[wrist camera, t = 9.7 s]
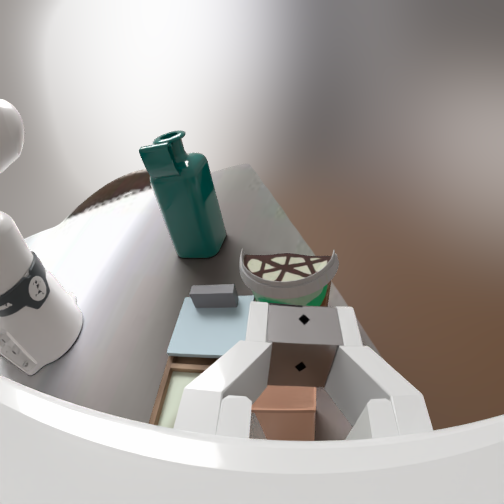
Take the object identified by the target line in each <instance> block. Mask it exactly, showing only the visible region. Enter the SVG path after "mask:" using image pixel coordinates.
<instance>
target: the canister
mask: <svg viewBox="0 0 504 504" xmlns="http://www.w3.org/2000/svg"><path fill="white" fill-rule="evenodd" d="M251 412H253V413H255V414H256V416H257V419H258V421H259V423H260V425H261V427H262V429H263V431H264V433H265V436H266V438H267V440H285V441H315V413H316V387H302V386H272V385H267V387H266V389H265V390H264V391H263V392H262V394H261V395H260V396H259V397H258V399H257V400H256V401H255V402H254V403H253V405H252V407H251Z"/></svg>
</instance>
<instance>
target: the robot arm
mask: <svg viewBox="0 0 504 504" xmlns="http://www.w3.org/2000/svg"><path fill="white" fill-rule="evenodd" d="M24 136H25V133H24V124H23V121H22V118H21V116H20V114H19V112H18V111H17V109H16V108H15V107H14V106H13V105H12V104H10V103H9V102H7V101H5V100H2V99H0V174H1V173H2V172H3V171H4V170H5V169H6V168H7V167H8V166H9V165H11V164H12V163H13V162H14V161H15V160H16V159H17V158H18V157H19V156H20V154H21V151H22V148H23V144H24ZM82 322H83V316H82V312H81V310H80V309H79V307H78V306H77V304H76V296H75V295H74V294H73V293H72V292H69V293H67V291H66V290H65V289H64V288H63V286H62V285H61V284H60V283H59V281H58V280H57V279H56V277H55V276H54V275H53V274H52V272H50V271H47V270H45V268H44V267H43V265H42V263H41V261H40V259H39V258H38V257H37V256H36V254H35V253H34V252H32V251H30V249H29V247H28V245H27V244H26V242H25V240H24V238H23V237H22V235H21V233H20V231H19V230H18V228H17V226H16V224H15V222H14V220H13V219H12V218H11V217H10V216H9V215H8V214H6V213H4V212H1V211H0V354H1V355H2V356H4V357H5V358H6V359H7V360H9V361H10V362H11V363H13V364H14V365H15V366H17V367H18V368H20V369H21V370H22V371H24V372H25V373H27V374H28V375H33V374H35V373H36V372H37V371H38V370H39V369H40V368H42V367H43V366H44V365H46V364H49V363H51V362H53V361H55V360H56V359H58V358H59V357H61V356H62V355H63V354H64V353H65V352H66V351H67V350H68V349H69V348H70V347H71V346H72V345H73V343H74V342H75V340H76V339H77V337H78V335H79V333H80V330H81V327H82ZM267 385H272V386H302V387H324V389H325V390H326V392H327V393H328V394H329V396H330V397H331V398H332V400H333V401H334V403H335V404H336V405H337V407H338V408H339V409H340V411H341V412H342V413H343V415H344V416H345V417H346V419H347V420H348V421H349V423H350V424H351V425H352V427H353V428H352V430H351V431H350V433H349V434H348V436H347V438H346V439H345V440H337V441H285V440H264V439H250V438H249V432H250V420H251V407H252V405H253V403H254V402H255V401H256V400H257V399H258V397H259V396H260V395H261V394H262V392H263V391H264V390H265V389H266V387H267ZM0 504H504V415H500V416H497V417H493V418H490V419H486V420H482V421H478V422H474V423H470V424H465V425H461V426H456V427H451V428H446V429H440V430H435V431H433V429H432V425H431V422H430V418H429V415H428V411H427V408H426V405H425V402H424V398H423V395H422V394H421V393H420V392H419V391H418V390H417V389H416V388H414V387H413V386H412V385H411V384H410V383H409V382H407V380H406V379H404V378H403V377H402V376H401V375H400V374H399V373H398V372H397V371H395V370H394V369H393V368H392V367H391V366H390V365H389V364H388V363H387V362H385V361H384V360H383V359H382V358H381V357H380V356H379V355H378V354H376V353H375V352H374V351H373V350H372V349H371V348H370V347H369V346H363V343H362V339H361V335H360V331H359V327H358V324H357V320H356V316H355V313H354V309H353V308H352V307H322V306H303V305H292V304H280V303H269V304H268V303H267V302H256V301H251V303H250V307H249V315H248V323H247V331H246V339H245V341H243V340H240V341H239V342H238V343H236V344H235V345H234V346H233V347H232V348H231V349H230V350H228V351H227V352H226V353H225V354H224V355H223V356H221V357H220V358H219V359H218V360H217V361H216V362H214V363H213V364H212V365H211V366H210V367H209V368H207V369H206V370H205V371H204V372H203V373H202V374H200V375H199V376H198V377H197V378H196V379H194V380H193V381H192V382H191V383H190V384H188V385H187V386H186V387H185V388H184V391H183V394H182V398H181V401H180V405H179V409H178V413H177V416H176V420H175V424H174V427H173V428H167V427H162V426H157V425H152V424H147V423H143V422H138V421H134V420H130V419H126V418H122V417H118V416H114V415H110V414H107V413H103V412H99V411H96V410H93V409H89V408H86V407H83V406H80V405H76V404H73V403H70V402H67V401H64V400H62V399H59V398H56V397H53V396H50V395H48V394H45V393H42V392H40V391H37V390H35V389H32V388H30V387H27V386H25V385H22V384H20V383H18V382H15V381H13V380H11V379H9V378H6V377H4V376H2V375H0Z"/></svg>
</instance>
